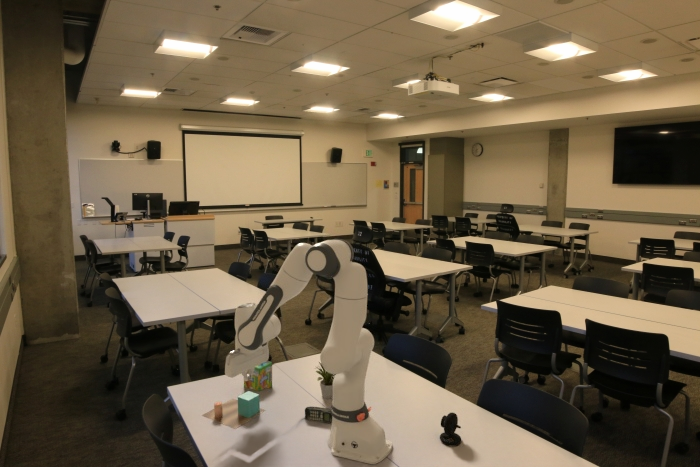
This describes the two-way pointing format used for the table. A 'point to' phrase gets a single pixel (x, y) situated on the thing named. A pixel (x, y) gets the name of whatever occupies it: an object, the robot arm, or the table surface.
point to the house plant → (326, 383)
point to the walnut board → (230, 415)
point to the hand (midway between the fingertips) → (248, 379)
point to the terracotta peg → (218, 410)
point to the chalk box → (260, 377)
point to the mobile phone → (318, 414)
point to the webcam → (450, 429)
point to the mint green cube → (248, 404)
